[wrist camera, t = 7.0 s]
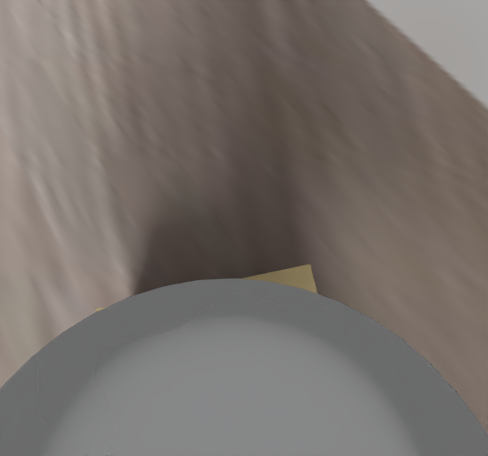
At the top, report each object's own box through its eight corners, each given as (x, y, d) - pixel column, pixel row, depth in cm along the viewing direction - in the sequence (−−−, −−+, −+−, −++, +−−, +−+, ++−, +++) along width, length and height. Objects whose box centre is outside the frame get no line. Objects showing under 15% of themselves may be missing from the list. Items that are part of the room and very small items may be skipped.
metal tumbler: (325, 425, 14) (710, 762, 3) (212, 495, 14) (40, 1341, 2) (262, 311, 15) (329, 180, 3) (154, 372, 14) (-191, 457, 3)
